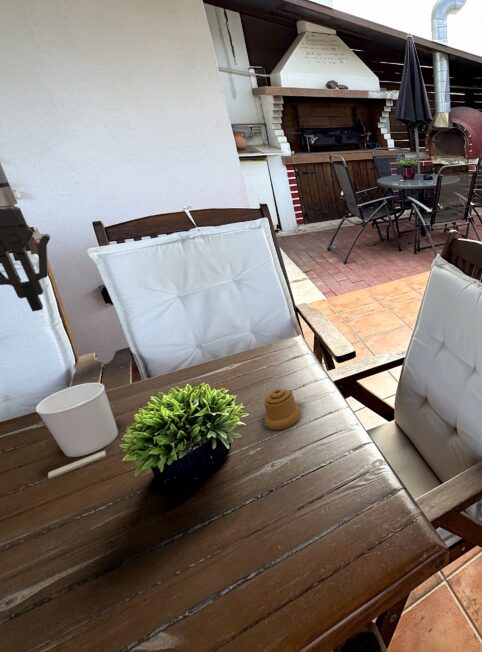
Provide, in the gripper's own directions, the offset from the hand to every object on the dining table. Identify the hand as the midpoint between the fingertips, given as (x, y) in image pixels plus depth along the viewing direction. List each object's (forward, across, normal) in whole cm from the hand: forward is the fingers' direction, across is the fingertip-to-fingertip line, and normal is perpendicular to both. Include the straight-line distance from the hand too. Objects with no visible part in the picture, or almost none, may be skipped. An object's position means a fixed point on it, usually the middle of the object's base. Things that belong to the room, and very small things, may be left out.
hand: (37, 308), depth 93 cm
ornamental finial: (+25, +34, -47) cm, 63 cm away
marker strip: (+24, +1, -32) cm, 40 cm away
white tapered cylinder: (+25, +3, -25) cm, 35 cm away
